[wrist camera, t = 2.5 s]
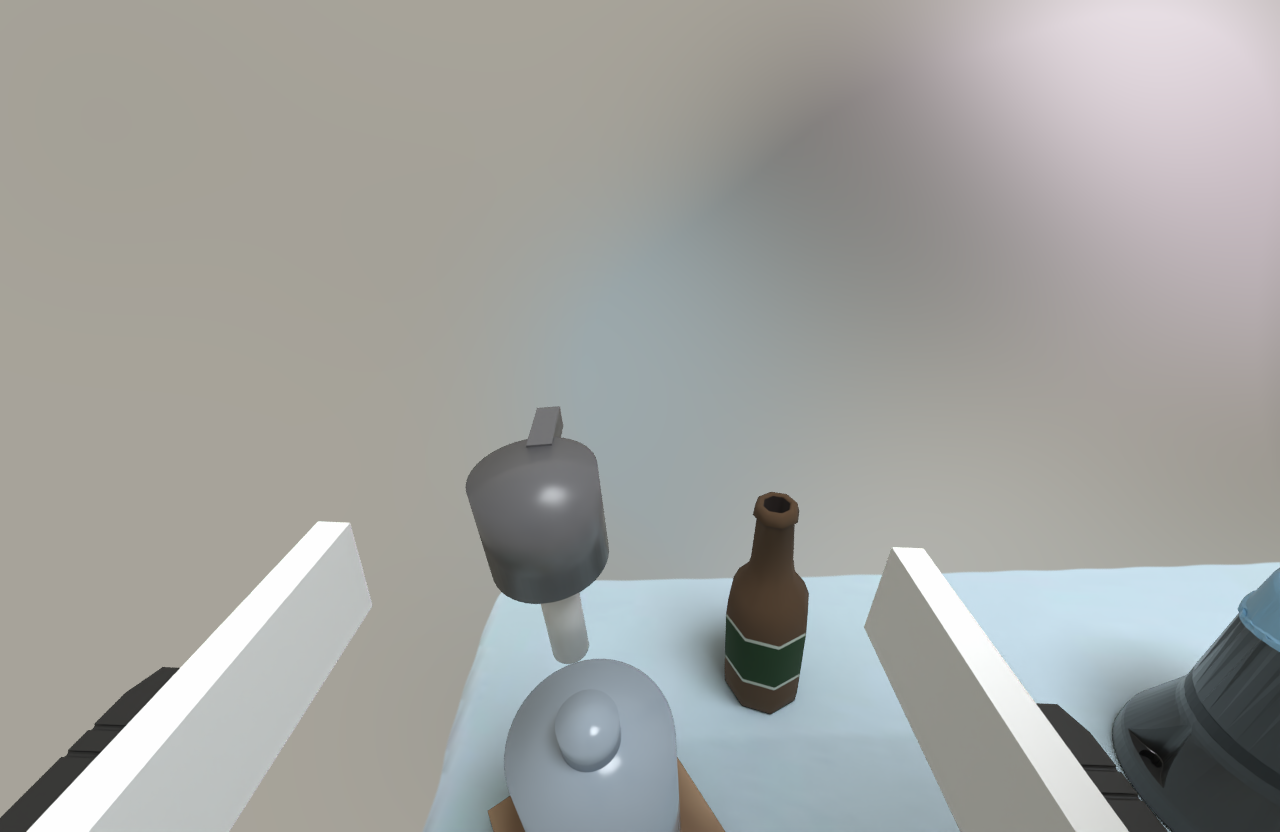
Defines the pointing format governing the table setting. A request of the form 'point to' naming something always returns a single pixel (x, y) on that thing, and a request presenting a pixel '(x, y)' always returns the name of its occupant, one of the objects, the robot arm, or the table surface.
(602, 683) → the soap dispenser
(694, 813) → the walnut board
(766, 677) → the beer bottle
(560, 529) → the pump plunger
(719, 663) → the table surface
